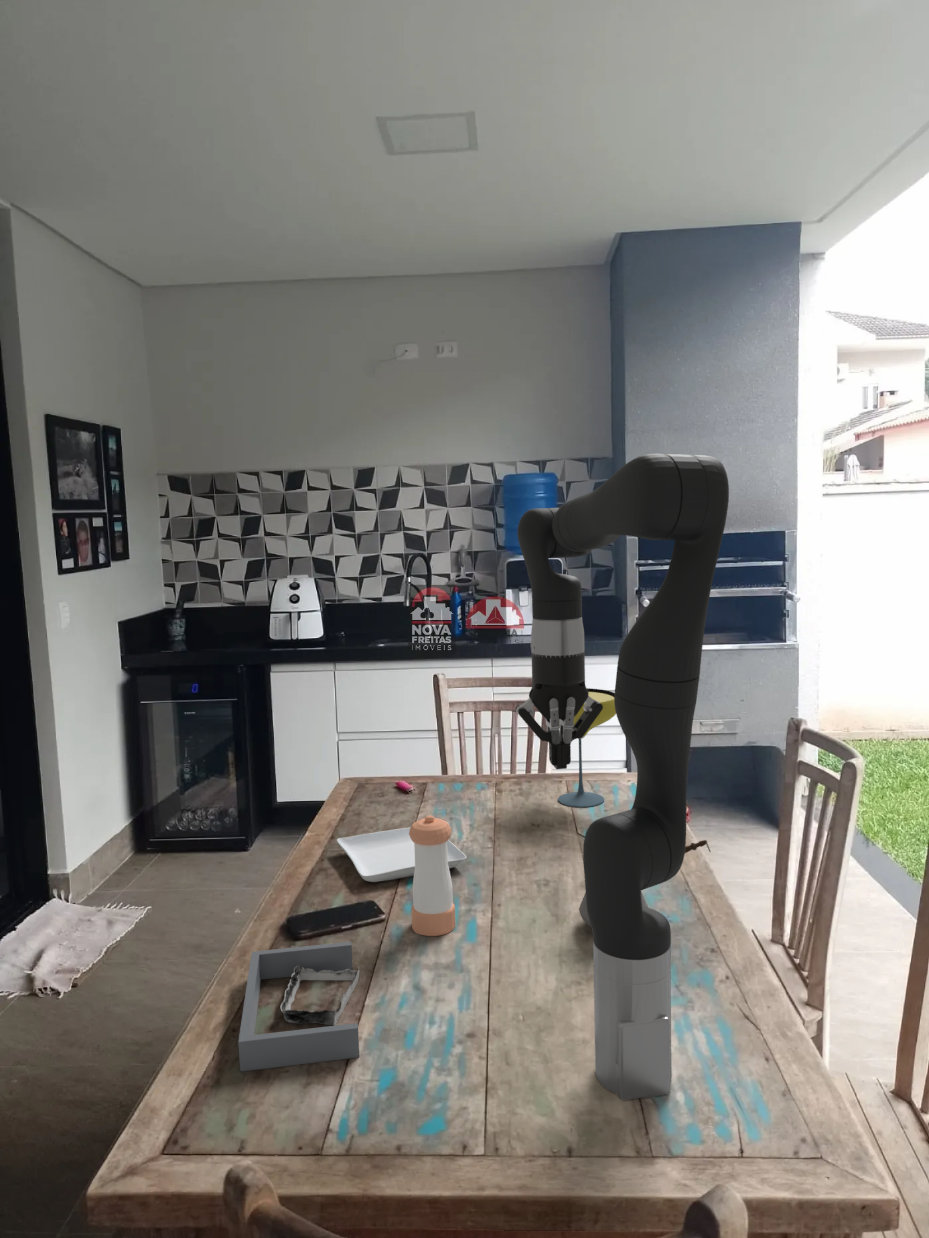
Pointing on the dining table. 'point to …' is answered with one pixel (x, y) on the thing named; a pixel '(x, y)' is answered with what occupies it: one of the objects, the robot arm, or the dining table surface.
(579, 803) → the cocktail glass
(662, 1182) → the dining table surface
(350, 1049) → the bin
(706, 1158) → the dining table surface
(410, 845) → the salad plate
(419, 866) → the pepper shaker
